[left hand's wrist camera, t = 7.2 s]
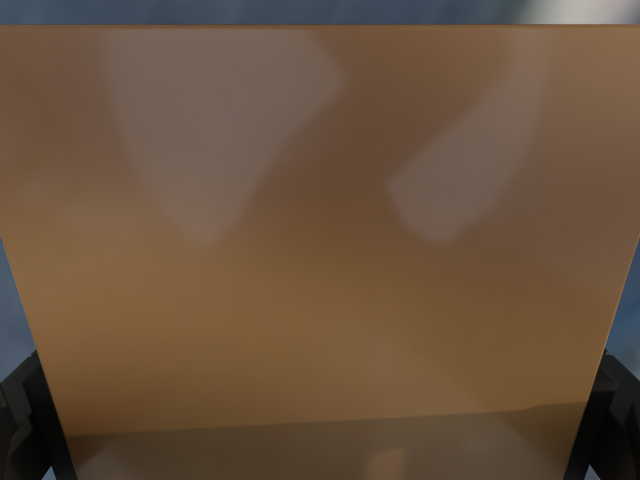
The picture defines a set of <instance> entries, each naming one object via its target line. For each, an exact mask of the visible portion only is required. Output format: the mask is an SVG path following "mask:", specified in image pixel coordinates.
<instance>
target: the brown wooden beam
mask: <svg viewBox="0 0 640 480" xmlns="http://www.w3.org/2000/svg"><path fill="white" fill-rule="evenodd" d="M0 236H1V239H2V242H3V245H4V248H5V252H6V255H7V258H8V261H9V264H10V267H11V271H12V274H13V277H14V280H15V283H16V286H17V289H18V293H19V296H20V299H21V302H22V305H23V308H24V312H25V315H26V318H27V321H28V324H29V327H30V330H31V334H32V337H33V340H34V343H35V346H36V349H37V352H38V356H39V359H40V362H41V365H42V368H43V371H44V375H45V378H46V381H47V384H48V387H49V390H50V393H51V397H52V400H53V403H54V406H55V409H56V412H57V415H58V419H59V422H60V425H61V428H62V431H63V434H64V438H65V441H66V444H67V447H68V450H69V453H70V456H71V460H72V463H73V466H74V469H75V472H76V475H77V478H78V480H563V477H564V474H565V471H566V468H567V465H568V461H569V458H570V455H571V452H572V449H573V446H574V442H575V439H576V436H577V433H578V430H579V427H580V424H581V420H582V417H583V414H584V411H585V408H586V405H587V402H588V398H589V395H590V392H591V389H592V386H593V383H594V380H595V376H596V373H597V370H598V367H599V364H600V361H601V357H602V354H603V351H604V348H605V345H606V342H607V339H608V335H609V332H610V329H611V326H612V323H613V320H614V317H615V313H616V310H617V307H618V304H619V301H620V298H621V295H622V291H623V288H624V285H625V282H626V279H627V276H628V272H629V269H630V266H631V263H632V260H633V257H634V254H635V250H636V247H637V244H638V241H639V238H640V24H36V25H0Z"/></svg>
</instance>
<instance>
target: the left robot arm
mask: <svg viewBox="0 0 640 480" xmlns="http://www.w3.org/2000/svg"><path fill="white" fill-rule="evenodd" d="M589 464H590V465H591V467H592V468H593V470H594V471H595V473H596V474H597V475H598V477H599V478H600V480H640V381H639V380H638V379H637V378H636V377H635V376H634V375H633V374H632V373H631V372H630V371H629V370H628V369H626V368H625V367H624V366H623V365H622V364H621V363H620V362H619V361H618V360H617V359H616V358H615V357H614V356H613V355H610V354H609V352H608V351H607V350H606V349H605V348H604V351H603V354H602V357H601V361H600V364H599V367H598V370H597V373H596V376H595V380H594V383H593V386H592V389H591V392H590V395H589V398H588V402H587V405H586V408H585V411H584V414H583V417H582V420H581V424H580V427H579V430H578V433H577V436H576V439H575V442H574V446H573V449H572V452H571V455H570V458H569V461H568V465H567V468H566V471H565V474H564V477H563V480H584V478H585V475H586V473H587V470H588V467H589ZM51 466H52V469H53V471H54V474H55V477H56V480H78V478H77V475H76V472H75V469H74V466H73V463H72V460H71V456H70V453H69V450H68V447H67V444H66V441H65V438H64V434H63V431H62V428H61V425H60V422H59V419H58V415H57V412H56V409H55V406H54V403H53V400H52V397H51V393H50V390H49V387H48V384H47V381H46V378H45V375H44V371H43V368H42V365H41V362H40V359H39V356H38V352H37V349H36V350H35V351H34V352H33V353H32V354H31V357H28V358H27V359H26V360H24V361H23V362H22V363H21V364H20V365H19V366H18V367H17V368H16V369H15V370H14V371H13V372H12V373H11V374H10V375H9V376H8V377H6V378H5V379H4V380H3V381H2V382H1V383H0V480H42V478H43V477H44V475H45V474H46V472H47V471H48V470H49V468H50V467H51Z"/></svg>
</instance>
